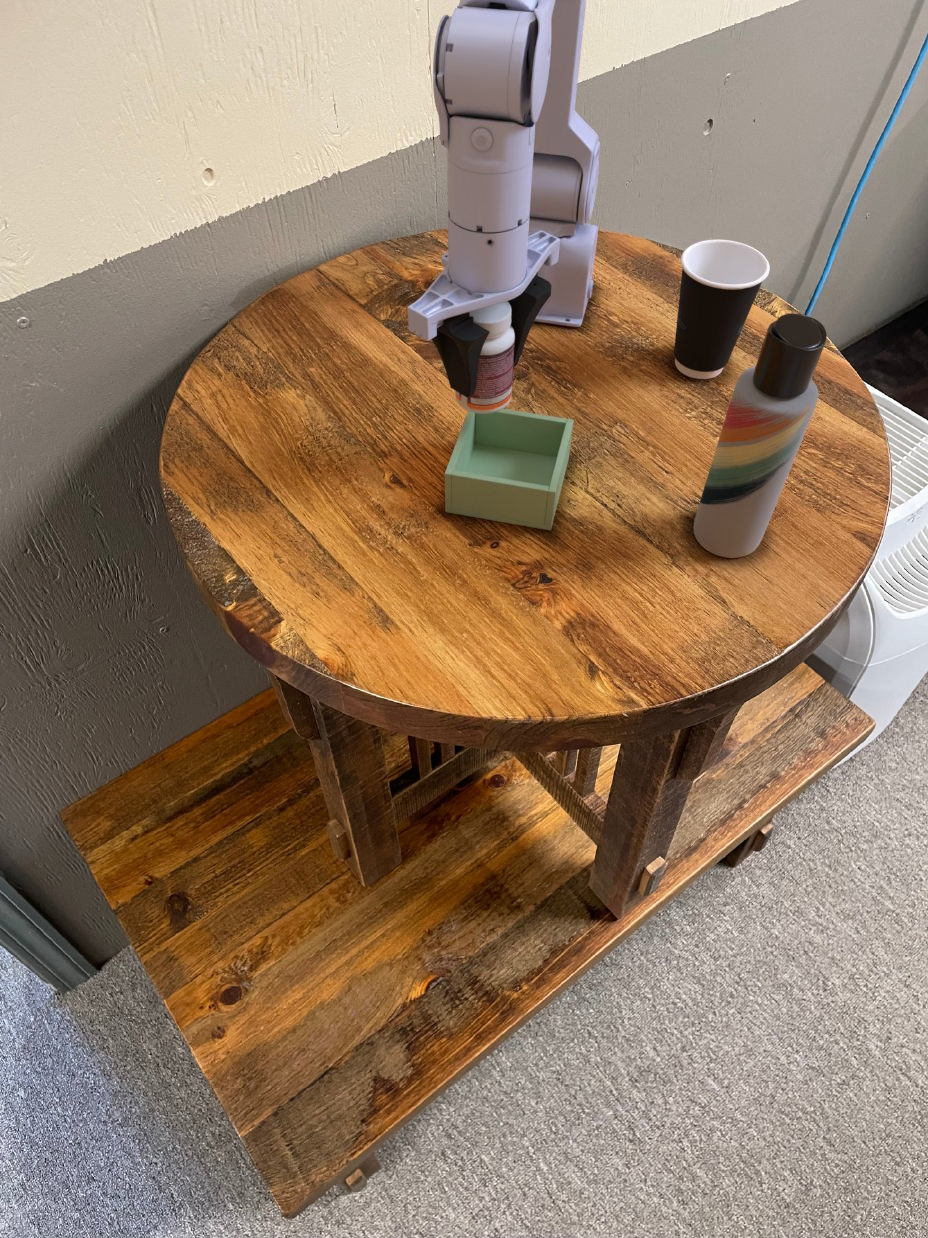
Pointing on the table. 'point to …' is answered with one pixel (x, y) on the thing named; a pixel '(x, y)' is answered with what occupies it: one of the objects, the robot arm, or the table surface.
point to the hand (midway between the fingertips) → (484, 375)
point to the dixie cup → (714, 303)
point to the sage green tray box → (509, 467)
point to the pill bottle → (493, 361)
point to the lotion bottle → (760, 438)
